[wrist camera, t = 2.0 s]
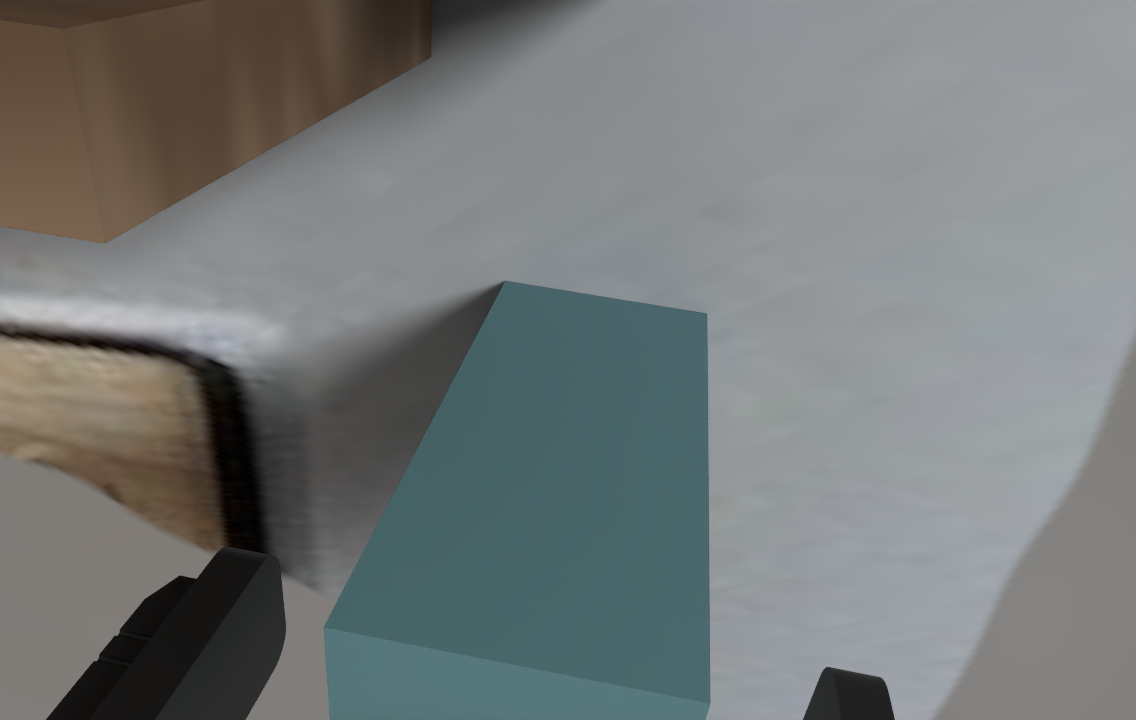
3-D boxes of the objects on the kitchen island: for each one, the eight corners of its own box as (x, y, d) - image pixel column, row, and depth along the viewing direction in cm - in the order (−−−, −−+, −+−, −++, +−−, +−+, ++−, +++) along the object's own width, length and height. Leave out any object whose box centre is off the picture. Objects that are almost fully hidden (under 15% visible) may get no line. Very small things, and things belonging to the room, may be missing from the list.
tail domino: (691, 383, 20) (681, 797, 11) (500, 350, 21) (330, 724, 11) (707, 313, 19) (710, 703, 10) (505, 280, 20) (323, 626, 10)
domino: (430, 57, 17) (104, 243, 8) (211, 26, 18) (-350, 168, 8) (432, -46, 16) (62, 29, 7) (200, -76, 17) (-453, -47, 7)
